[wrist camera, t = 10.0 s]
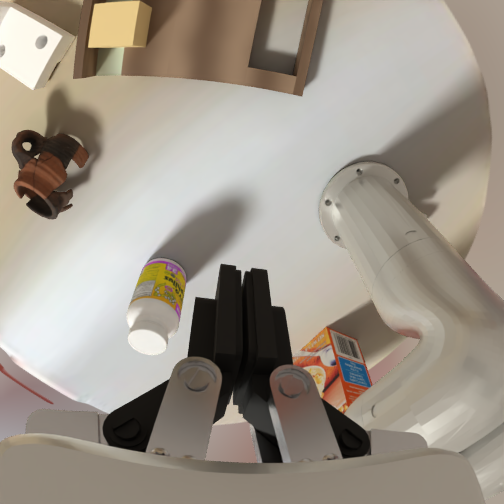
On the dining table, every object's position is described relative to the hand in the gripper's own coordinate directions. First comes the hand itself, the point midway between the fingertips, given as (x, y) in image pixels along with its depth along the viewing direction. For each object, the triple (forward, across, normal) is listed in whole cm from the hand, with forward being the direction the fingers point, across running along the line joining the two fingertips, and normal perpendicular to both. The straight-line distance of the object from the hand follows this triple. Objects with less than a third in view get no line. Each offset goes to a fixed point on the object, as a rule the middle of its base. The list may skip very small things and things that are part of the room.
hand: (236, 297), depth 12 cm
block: (+24, +13, -11) cm, 30 cm away
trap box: (+27, +6, -13) cm, 30 cm away
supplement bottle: (+27, +7, +21) cm, 35 cm away
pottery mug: (+27, +23, +6) cm, 36 cm away
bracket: (+27, +28, -11) cm, 41 cm away
